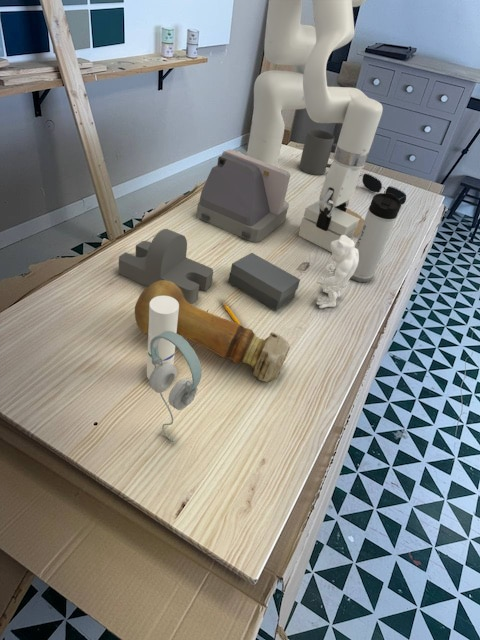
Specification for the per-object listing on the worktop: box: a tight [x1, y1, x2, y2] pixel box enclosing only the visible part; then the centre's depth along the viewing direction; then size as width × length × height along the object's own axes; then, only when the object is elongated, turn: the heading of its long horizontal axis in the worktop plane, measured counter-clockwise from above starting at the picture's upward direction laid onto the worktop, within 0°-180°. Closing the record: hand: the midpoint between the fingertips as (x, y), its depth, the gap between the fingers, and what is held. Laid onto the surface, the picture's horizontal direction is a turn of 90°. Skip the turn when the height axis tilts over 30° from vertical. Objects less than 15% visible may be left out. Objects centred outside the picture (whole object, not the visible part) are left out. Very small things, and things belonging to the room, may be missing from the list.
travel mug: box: [350, 192, 402, 283], centre depth 106 cm, size 6×7×20 cm
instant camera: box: [196, 148, 291, 243], centre depth 120 cm, size 21×21×15 cm
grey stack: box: [227, 252, 301, 312], centre depth 99 cm, size 13×7×5 cm, turn 51°
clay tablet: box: [346, 208, 365, 238], centre depth 131 cm, size 14×10×3 cm
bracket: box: [118, 228, 214, 305], centre depth 95 cm, size 10×18×11 cm, turn 63°
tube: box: [146, 296, 179, 380], centre depth 73 cm, size 4×4×15 cm
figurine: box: [315, 235, 359, 309], centre depth 97 cm, size 11×7×15 cm, turn 157°
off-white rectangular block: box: [298, 216, 355, 253], centre depth 121 cm, size 12×7×5 cm, turn 52°
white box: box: [303, 200, 360, 235], centre depth 118 cm, size 12×7×2 cm, turn 51°
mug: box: [299, 128, 337, 176], centre depth 155 cm, size 14×9×12 cm
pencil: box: [222, 301, 243, 326], centre depth 89 cm, size 1×19×1 cm, turn 28°
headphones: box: [148, 331, 202, 443], centre depth 62 cm, size 8×4×20 cm, turn 49°
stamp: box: [134, 280, 291, 383], centre depth 81 cm, size 10×28×15 cm, turn 69°
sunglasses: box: [359, 173, 407, 206], centre depth 146 cm, size 17×15×5 cm
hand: (329, 223), depth 119 cm, fingers closed on white box, 7 cm apart
